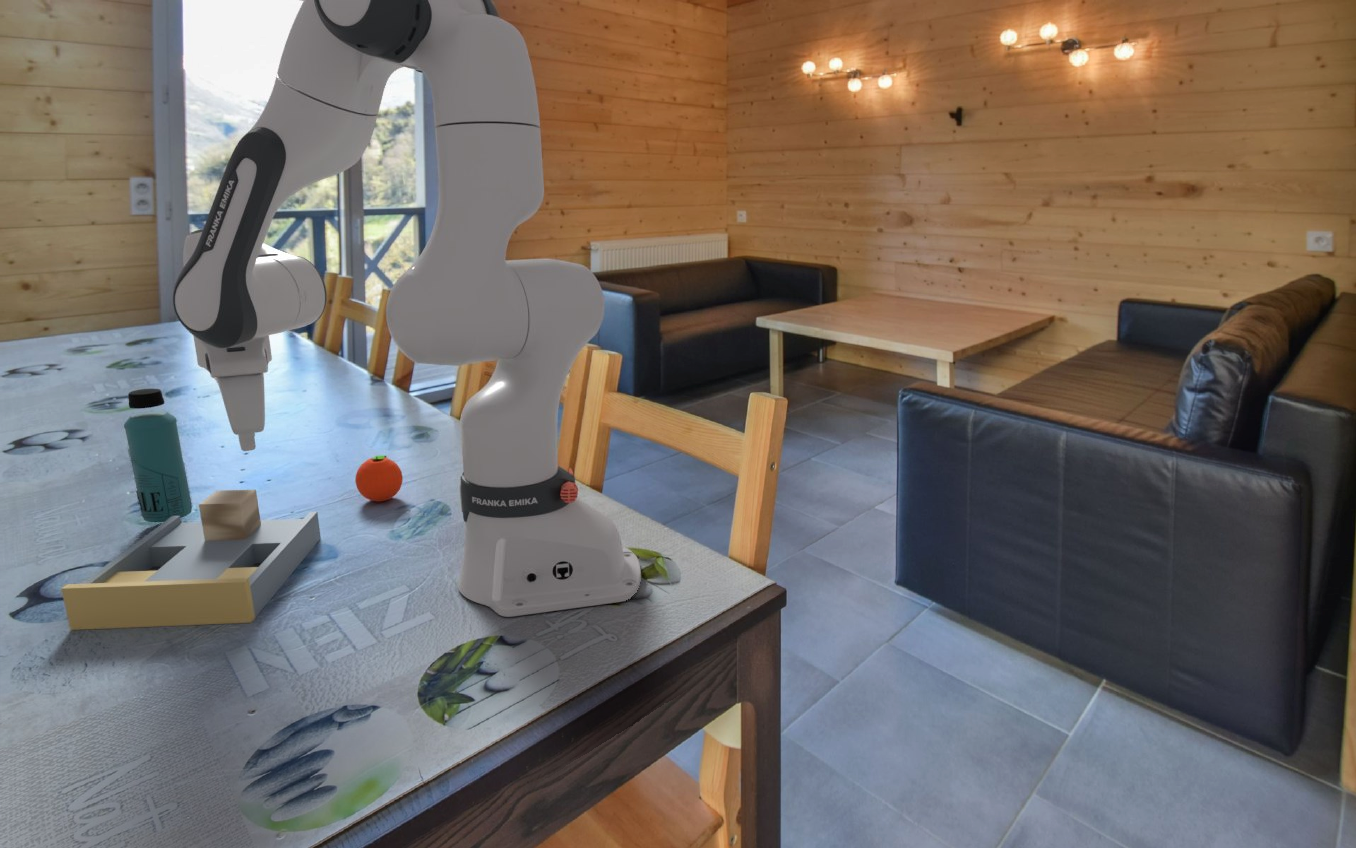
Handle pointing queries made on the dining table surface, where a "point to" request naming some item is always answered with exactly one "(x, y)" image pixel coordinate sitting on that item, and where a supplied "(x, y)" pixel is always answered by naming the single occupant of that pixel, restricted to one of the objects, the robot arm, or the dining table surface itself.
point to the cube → (230, 515)
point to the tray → (191, 576)
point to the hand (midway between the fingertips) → (247, 447)
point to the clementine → (379, 479)
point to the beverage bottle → (156, 459)
